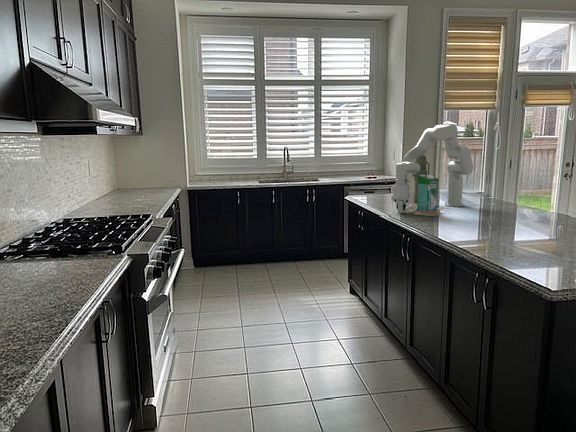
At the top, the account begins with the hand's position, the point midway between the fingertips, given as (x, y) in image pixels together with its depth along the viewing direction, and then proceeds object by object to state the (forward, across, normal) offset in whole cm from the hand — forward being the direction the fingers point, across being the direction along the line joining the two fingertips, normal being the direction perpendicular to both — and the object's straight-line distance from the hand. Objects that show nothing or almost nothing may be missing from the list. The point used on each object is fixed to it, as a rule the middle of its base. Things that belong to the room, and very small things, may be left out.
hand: (401, 209), depth 290 cm
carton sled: (+2, -11, 0) cm, 11 cm away
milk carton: (+2, -16, 0) cm, 17 cm away
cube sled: (+2, -3, -12) cm, 12 cm away
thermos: (+2, -6, -39) cm, 39 cm away
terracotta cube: (+2, -7, -12) cm, 14 cm away
